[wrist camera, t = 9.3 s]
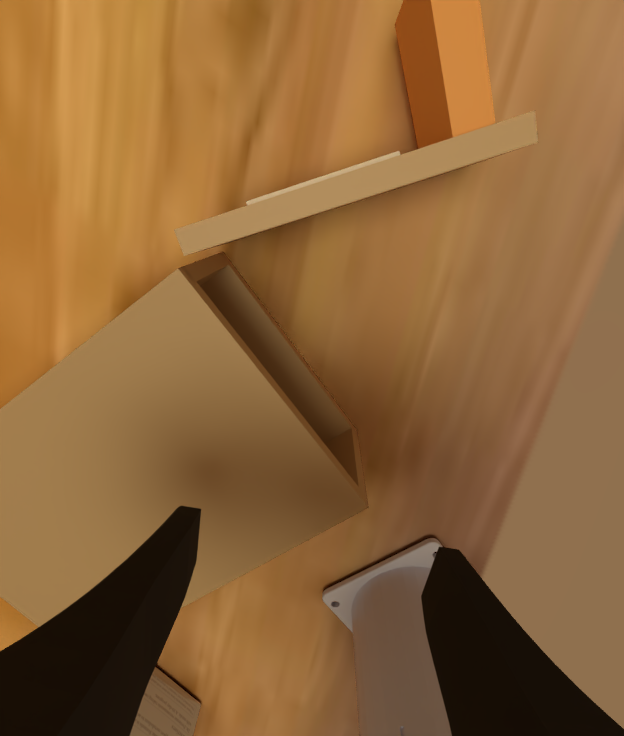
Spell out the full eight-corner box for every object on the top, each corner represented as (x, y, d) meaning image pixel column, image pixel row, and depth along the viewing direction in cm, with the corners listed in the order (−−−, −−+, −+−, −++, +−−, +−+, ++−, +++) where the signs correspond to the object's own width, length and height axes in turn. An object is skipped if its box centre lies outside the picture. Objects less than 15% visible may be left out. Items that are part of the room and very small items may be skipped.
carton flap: (448, 13, 15) (514, -97, 10) (470, 164, 17) (538, 142, 11) (178, 112, 16) (109, 64, 11) (225, 243, 18) (184, 255, 13)
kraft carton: (357, 430, 21) (368, 507, 16) (136, 560, 25) (82, 661, 19) (223, 251, 18) (178, 268, 13) (-5, 429, 22) (-119, 502, 16)
